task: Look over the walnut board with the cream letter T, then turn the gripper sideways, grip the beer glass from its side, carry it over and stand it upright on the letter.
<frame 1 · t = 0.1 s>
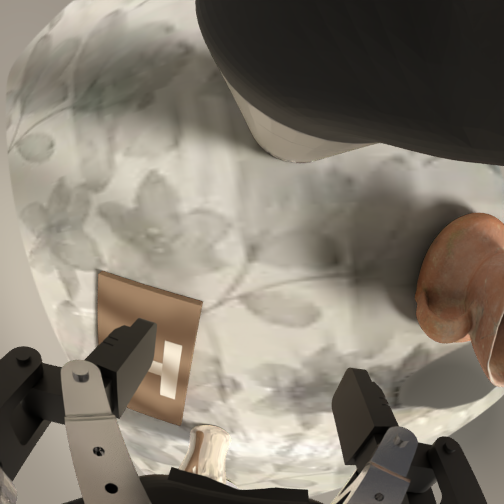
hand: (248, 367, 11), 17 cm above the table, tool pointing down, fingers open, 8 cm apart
beer glass: (211, 435, 35), on the table
ceramic jug: (453, 272, 27), on the table
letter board: (143, 357, 32), on the table
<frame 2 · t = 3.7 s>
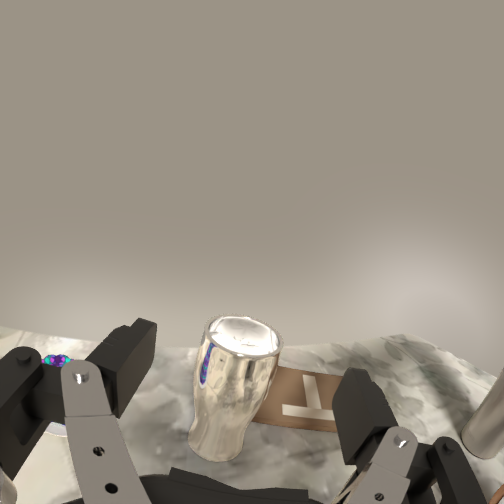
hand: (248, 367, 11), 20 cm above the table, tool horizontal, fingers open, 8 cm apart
beer glass: (214, 442, 26), on the table
pudding: (64, 402, 25), on the table
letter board: (309, 400, 37), on the table
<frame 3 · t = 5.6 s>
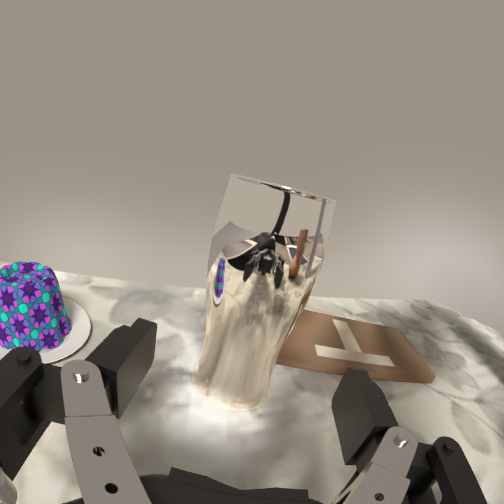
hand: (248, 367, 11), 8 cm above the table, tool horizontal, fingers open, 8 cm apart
beer glass: (230, 387, 21), on the table
pudding: (30, 329, 19), on the table
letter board: (344, 346, 31), on the table
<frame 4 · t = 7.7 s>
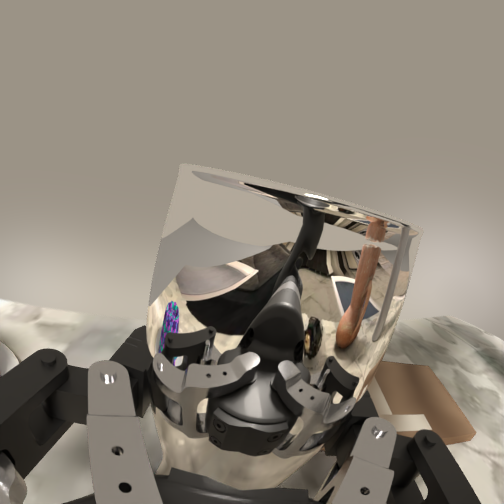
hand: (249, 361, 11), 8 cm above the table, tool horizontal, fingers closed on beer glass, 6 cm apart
beer glass: (211, 493, 11), on the table, touching gripper
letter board: (368, 402, 21), on the table
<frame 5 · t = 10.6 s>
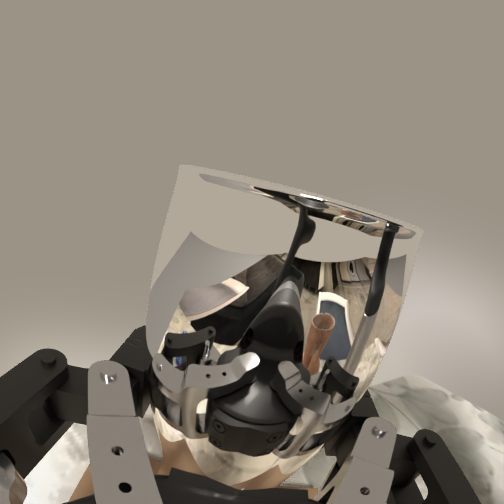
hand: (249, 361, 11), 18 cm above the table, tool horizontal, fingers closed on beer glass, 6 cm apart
beer glass: (210, 493, 11), point 9 cm above the table, touching gripper
when the fingers open (9 cm above the table, at t = 13.3 s): beer glass stays where it is, resting on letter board.
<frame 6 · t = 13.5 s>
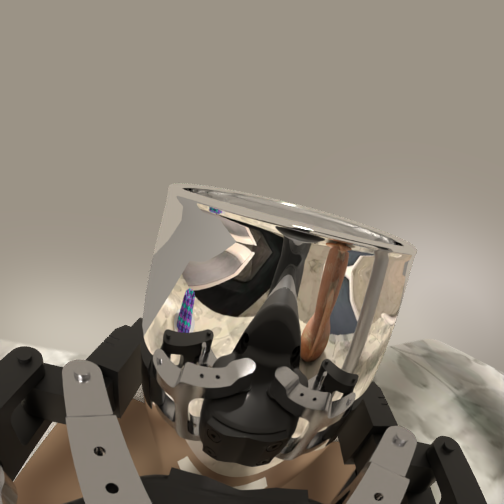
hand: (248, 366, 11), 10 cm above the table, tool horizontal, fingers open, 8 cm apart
beer glass: (210, 498, 11), point 1 cm above the table, touching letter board
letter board: (207, 502, 11), on the table
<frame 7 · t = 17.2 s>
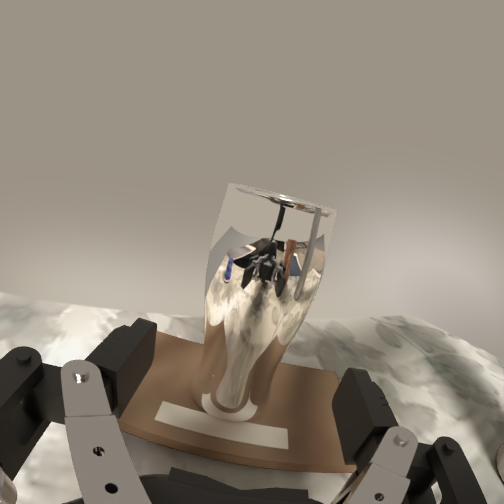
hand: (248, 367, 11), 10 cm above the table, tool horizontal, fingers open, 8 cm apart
beer glass: (229, 395, 20), point 1 cm above the table, touching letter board
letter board: (227, 402, 21), on the table
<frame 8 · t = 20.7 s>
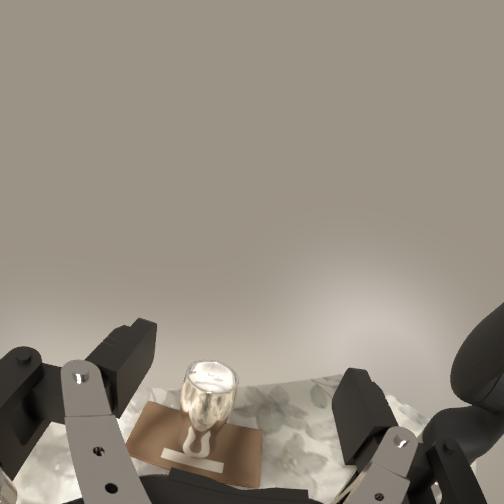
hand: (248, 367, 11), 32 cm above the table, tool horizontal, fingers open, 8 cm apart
beer glass: (197, 444, 36), point 1 cm above the table, touching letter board
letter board: (196, 446, 37), on the table
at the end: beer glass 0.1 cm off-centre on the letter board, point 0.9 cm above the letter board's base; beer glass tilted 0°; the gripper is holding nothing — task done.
